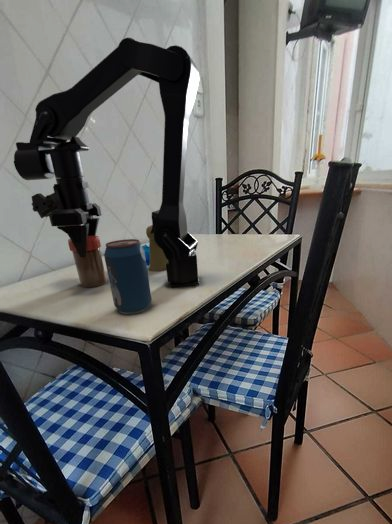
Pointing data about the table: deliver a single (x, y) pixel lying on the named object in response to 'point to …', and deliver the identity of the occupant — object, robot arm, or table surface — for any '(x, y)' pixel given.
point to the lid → (92, 243)
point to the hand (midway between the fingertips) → (86, 253)
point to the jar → (90, 268)
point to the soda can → (128, 275)
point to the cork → (155, 253)
